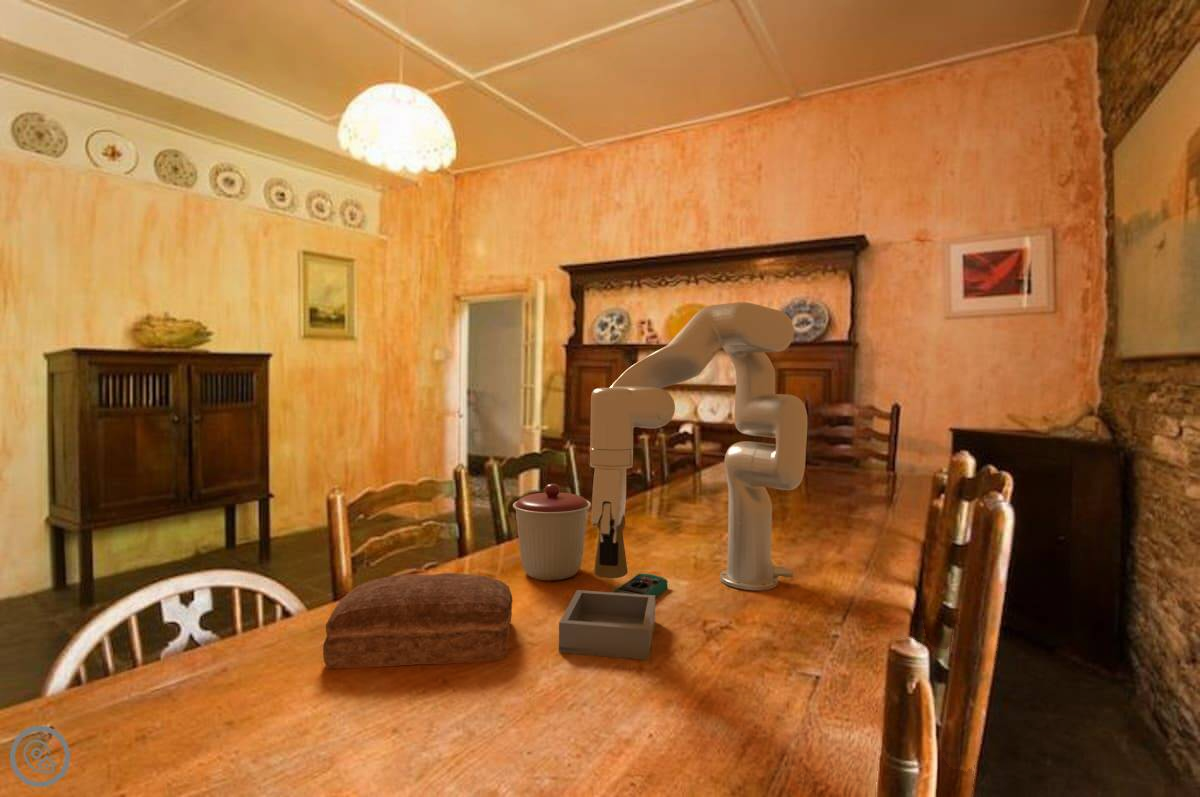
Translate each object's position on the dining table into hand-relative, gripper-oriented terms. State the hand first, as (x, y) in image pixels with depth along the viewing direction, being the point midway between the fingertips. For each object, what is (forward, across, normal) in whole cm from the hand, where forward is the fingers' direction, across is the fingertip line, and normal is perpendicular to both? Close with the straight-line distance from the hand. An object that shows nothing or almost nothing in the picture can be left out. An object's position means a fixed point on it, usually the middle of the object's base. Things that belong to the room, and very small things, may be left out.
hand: (610, 561), depth 102 cm
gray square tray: (+13, 0, 0) cm, 13 cm away
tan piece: (+2, -1, 0) cm, 3 cm away
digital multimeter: (+14, -20, +4) cm, 25 cm away
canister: (+14, -30, -18) cm, 38 cm away
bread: (+14, +8, -31) cm, 35 cm away
